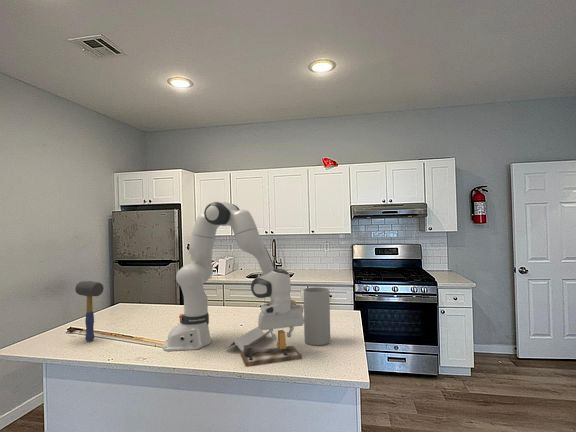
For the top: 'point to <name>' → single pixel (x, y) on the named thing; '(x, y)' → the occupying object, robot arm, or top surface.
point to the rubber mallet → (89, 303)
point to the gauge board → (268, 355)
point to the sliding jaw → (281, 341)
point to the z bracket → (249, 338)
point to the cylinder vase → (316, 316)
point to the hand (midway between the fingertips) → (281, 337)
